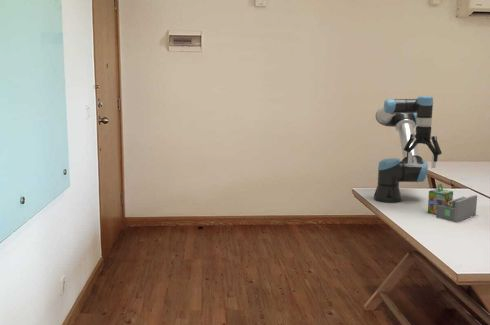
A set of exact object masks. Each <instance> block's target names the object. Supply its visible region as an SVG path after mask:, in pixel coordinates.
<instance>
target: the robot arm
mask: <svg viewBox="0 0 490 325" xmlns="http://www.w3.org/2000/svg"><path fill="white" fill-rule="evenodd" d="M433 107H434V97H433V95H419V96H417V98H402V99H401V98H389V99H388V98H387V99H385V100H384V102H383V107H381V108H378V110H376V113H375V119H376V122H377V123H379V124H380V125H382V126H383V127H394V128H395V130H396V131H397V132H398V134H399V140H400V146H401V153H402V156H403V157H402V159H400V158H397V157H396V158H385V159H384V158H383V159H381V160H380V161H379V162H378V166H377V186H376V189H375V191H374V194H373V199H374V201H377V202H381V203H399V202H401V201H402V194H401V190H400V182H401V183H403V182H404V183H411V182H412V183H423V182H425V180H426V179H427V175H428V171H429V170H428V167H429V164H428V162H427V161H424V160H423V157H422V156H420V155H419V150H418V145H419V144H423V145H426V146H427V147H428V149H429V150H430V151H431V153H432V155H431V166H430V167H431V169H434V168H436V166H437V165H436V164H437V162H438V157H439V156H440V155H442V154H443V153H442V150H441V147H440V145H439V142H438V137H437V135H434V136H432V134H431V133H432V126H433V125H432V124H433V123H432V122H433ZM414 129H415V131H414Z"/></svg>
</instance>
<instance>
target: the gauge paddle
mask: <svg viewBox="0 0 490 325" xmlns="http://www.w3.org/2000/svg"><path fill="white" fill-rule="evenodd" d="M464 198H467V197H466V196H460V197H457V198H455V199H454V198H453V200H451V201H449V202H448V205H450V207H451V208H455V201H458V200H461V199H464Z"/></svg>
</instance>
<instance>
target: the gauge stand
mask: <svg viewBox="0 0 490 325" xmlns="http://www.w3.org/2000/svg"><path fill="white" fill-rule="evenodd" d="M477 204H478V195H475V194H474V195H470V196H468V197H466V198H464V199H461V200H458V201H455V208H451V207H446V206H442V205H437V214H435V216H436V218H439V219H443V220H447V221H452V222H454V223H458V222H460V221H463V220H466V219H468V218H471V216H472V217H475V216H476V215H477Z"/></svg>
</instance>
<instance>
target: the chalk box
mask: <svg viewBox="0 0 490 325" xmlns="http://www.w3.org/2000/svg"><path fill="white" fill-rule="evenodd" d="M451 200H454V191H452V190H447V189H443V185H442V183H440V184H438V185H437V188H434V189H430V190H428V201H427V202H428V205H427V207H428V208H427V213H428V214H433V215H436V214H437V205H442V206H446V207H450V205H448V202H449V201H451Z"/></svg>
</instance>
